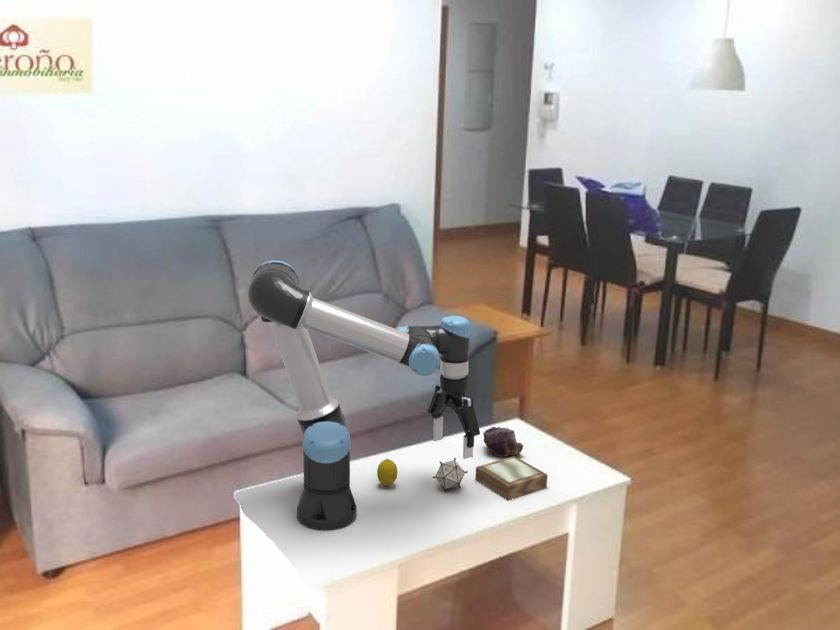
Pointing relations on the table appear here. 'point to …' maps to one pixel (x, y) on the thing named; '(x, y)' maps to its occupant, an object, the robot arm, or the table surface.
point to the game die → (450, 474)
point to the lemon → (387, 472)
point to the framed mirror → (511, 477)
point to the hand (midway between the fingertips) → (452, 448)
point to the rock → (502, 442)
